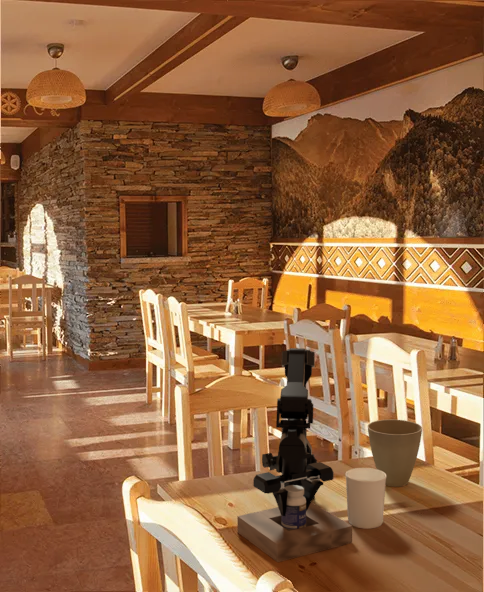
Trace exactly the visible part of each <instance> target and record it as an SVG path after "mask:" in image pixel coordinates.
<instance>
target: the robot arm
mask: <svg viewBox="0 0 484 592" xmlns="http://www.w3.org/2000/svg"><path fill="white" fill-rule="evenodd" d="M315 365H316V353H315V351H311V349H305V348H302V347H301V348H299V347H295V348H294V347H291V348H289V349H288V348H287V349H286V350H284V351H283V350H282V351H281V367H282V368H284V376H285V377H286V385H285V386H283V388H281V389H280V397H278V398H277V401H276V419H275V420H276V424H275V428H277V429H281V436H280V438H279V439H280V440H279V444H278V452H277V455H273V453H272V452H269V453H262V454H261V464H262V467H263V468H265V469H266V468H269V471H268V472H263V473H258V474H255V475H254V477H253V480H252V481H253V482H252V483H253V487H254V488H256V489H257V490H259V491H260V492H262V493H264V494H266V495H267V494H272V495H273V497H274V499H275V502H276V505H277V507H278V508H279V511H280V513H281V515H282V516H285V513H286V505H287V495H288V491H287V490H285V489H284V487H286V486H289V485H298V486H302V487H303V488H304V495H303V496H304V497H305V499H306V511H307V509H308V507H309V505H310V503H311V502H313V500H314V499H315V498H316V494H317V492H318V490H320V487H321V486H324V482H328V481H332V480H334V477H335V476H334V475H335V474H334V469H333V468H332V467H331V466H330V465H328V464H325V463H323V462H321V461H318V460H317V459H316V456H315V454H314V453H312V452H313V451H312V450H313V448H312V445H311V443H310V441H309V439H308V438H307V437H308V434H307V429H311V424H313V423H314V403H313V402H312V399H311V398H309V390H308V388H307V383H308V382H309V380H310V378H311V377H312V374H313V368H314V369H315V367H316V366H315ZM274 470H275V472H276V473H279V474H280V473H281V474H280V475H274V474H273V473H271V471H274Z"/></svg>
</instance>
